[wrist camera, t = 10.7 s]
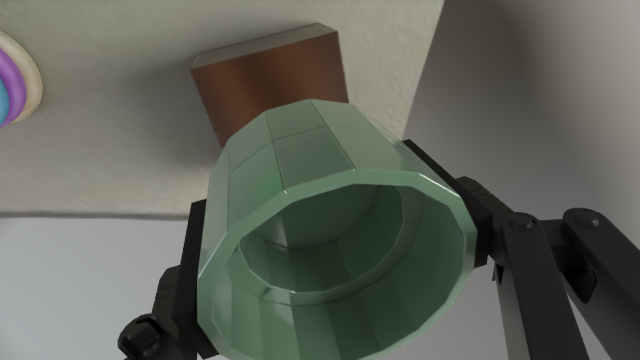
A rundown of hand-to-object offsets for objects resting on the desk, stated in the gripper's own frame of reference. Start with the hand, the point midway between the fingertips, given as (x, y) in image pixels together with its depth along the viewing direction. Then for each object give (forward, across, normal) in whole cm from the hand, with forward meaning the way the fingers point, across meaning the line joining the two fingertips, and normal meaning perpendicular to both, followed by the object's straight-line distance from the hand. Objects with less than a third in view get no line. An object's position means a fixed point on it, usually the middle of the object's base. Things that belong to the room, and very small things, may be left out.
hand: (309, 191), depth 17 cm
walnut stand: (+17, 0, 0) cm, 17 cm away
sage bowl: (0, 0, 0) cm, 0 cm away
